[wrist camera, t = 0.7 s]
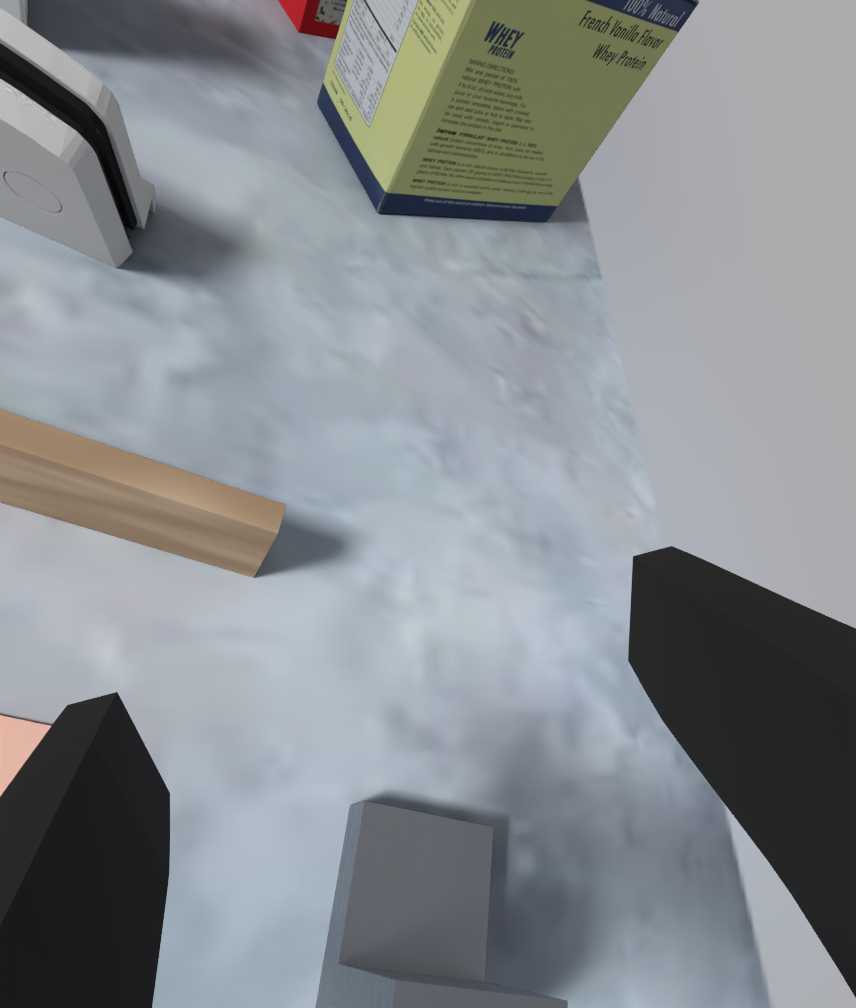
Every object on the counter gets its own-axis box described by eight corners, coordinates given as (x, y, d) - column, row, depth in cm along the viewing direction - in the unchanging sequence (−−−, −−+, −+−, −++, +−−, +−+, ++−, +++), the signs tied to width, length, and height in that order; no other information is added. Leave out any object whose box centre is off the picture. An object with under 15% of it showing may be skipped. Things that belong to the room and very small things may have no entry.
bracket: (457, 1053, 21) (567, 1101, 16) (309, 1040, 19) (382, 1089, 15) (473, 830, 24) (566, 816, 20) (349, 805, 23) (418, 783, 18)
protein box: (550, 224, 48) (706, 1, 36) (375, 216, 40) (503, -80, 28) (486, 128, 51) (611, -107, 39) (311, 102, 43) (401, -211, 31)
